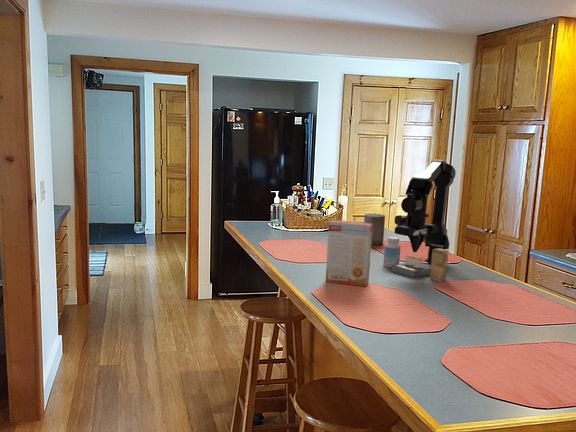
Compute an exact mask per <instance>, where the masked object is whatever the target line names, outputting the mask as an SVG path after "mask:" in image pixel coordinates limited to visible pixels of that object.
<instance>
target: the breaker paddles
mask: <svg viewBox="0 0 576 432" xmlns="http://www.w3.org/2000/svg"><path fill="white" fill-rule="evenodd" d="M404 259H405V261H404V263H405V264H406V265H409V266H412V265H413V264H414V266H413V267H416V268H422V264H423V261H424V260H423V258H422V257H418V256H415V255H410V254H406V256H405V258H404Z"/></svg>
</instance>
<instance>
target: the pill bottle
mask: <svg viewBox="0 0 576 432" xmlns="http://www.w3.org/2000/svg"><path fill="white" fill-rule="evenodd" d="M386 241H387V242H386V243H385V244H384V251H383V252H384V253H383V262H382V263H383V265H384V266H385V267H386V268H392V265H397V264H400V259H401V258H400V257H401V244H400V243H399V242H400V238H399V237H396V236H387V240H386Z"/></svg>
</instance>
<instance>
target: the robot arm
mask: <svg viewBox="0 0 576 432" xmlns="http://www.w3.org/2000/svg"><path fill="white" fill-rule="evenodd" d="M455 178H456V169H455V168H454V166H453V165H451V164H450V163H448V162H446V161H445V160H443V159H433V160H431V161H430V164H429V165H428V166H427V167H426V168H425V170H424V171H423V172H422V173H418V174H415V175H414V176H412V177H411V179H409V183H408V186H407V188H406V191H405V195H407V196H406V197H405V198H403V199H402V201H401V203H400V207H401V210H402V211H403V212H404V213H406V216H402V215H394V216H395V217H394V225H396V227H395V228H394V234H396V235H400V236H405V237H408V239H409V241H410V245H411V246H410V247H411V250H412V252H413V253H418V251H419V249H420V247H421V246H422V244H423V242H424V246H425V247H428V254H427V258H425V259H424V261H426V262H427V263H428V262H429V263H431V261H432V250H433V249H437V248H441V249H445V250H449V249H450V240H449V236H448V229H447V227H446V225H445V217H446V211H447V210H446V209H447V200H448V192H449V188H450V187H451V185H452V184H453V183H454V179H455ZM434 186H435V196H434V204H433V213H432V221H431V223H427V222H426V221H427V220H426V219H427V218H429V216H430V214H429V213H427V209H428V199H429V198H430V196H429V195H430V194H431V192H432V190H433V187H434Z"/></svg>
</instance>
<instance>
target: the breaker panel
mask: <svg viewBox="0 0 576 432" xmlns="http://www.w3.org/2000/svg"><path fill="white" fill-rule="evenodd" d="M413 266H414V264H413V265H412V266H409V265H406V264H405V262H404V263H399V264H397V265H392V267H391V272H392V273H396V274H398V275H400V276H401V275H402V276H405V277H408V278H411V279H415V278H420V277H421V278H423V277H427V276H430V271H431V265H430V266H429V265H426V264H423V263H422V268H416V267H413Z"/></svg>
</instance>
